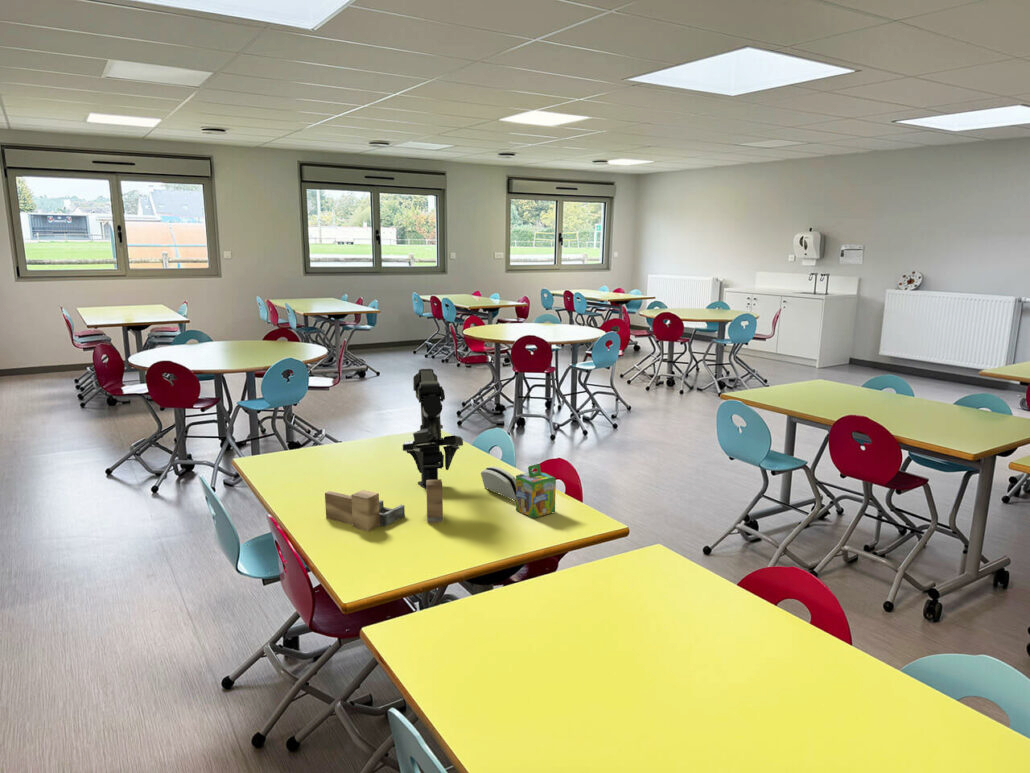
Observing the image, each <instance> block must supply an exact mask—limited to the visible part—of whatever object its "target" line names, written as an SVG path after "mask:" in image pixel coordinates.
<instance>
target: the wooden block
mask: <svg viewBox="0 0 1030 773" xmlns="http://www.w3.org/2000/svg"><path fill="white" fill-rule="evenodd" d="M425 489H426V520H427V524H428V523H430V524H443V523H444V511H443V510H444V509H443V507H444V506H443V505H444V504H443V503H444V502H443V498H444V497H443V480H442V479H439V478H438V479H437V480H426V488H425Z"/></svg>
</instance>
